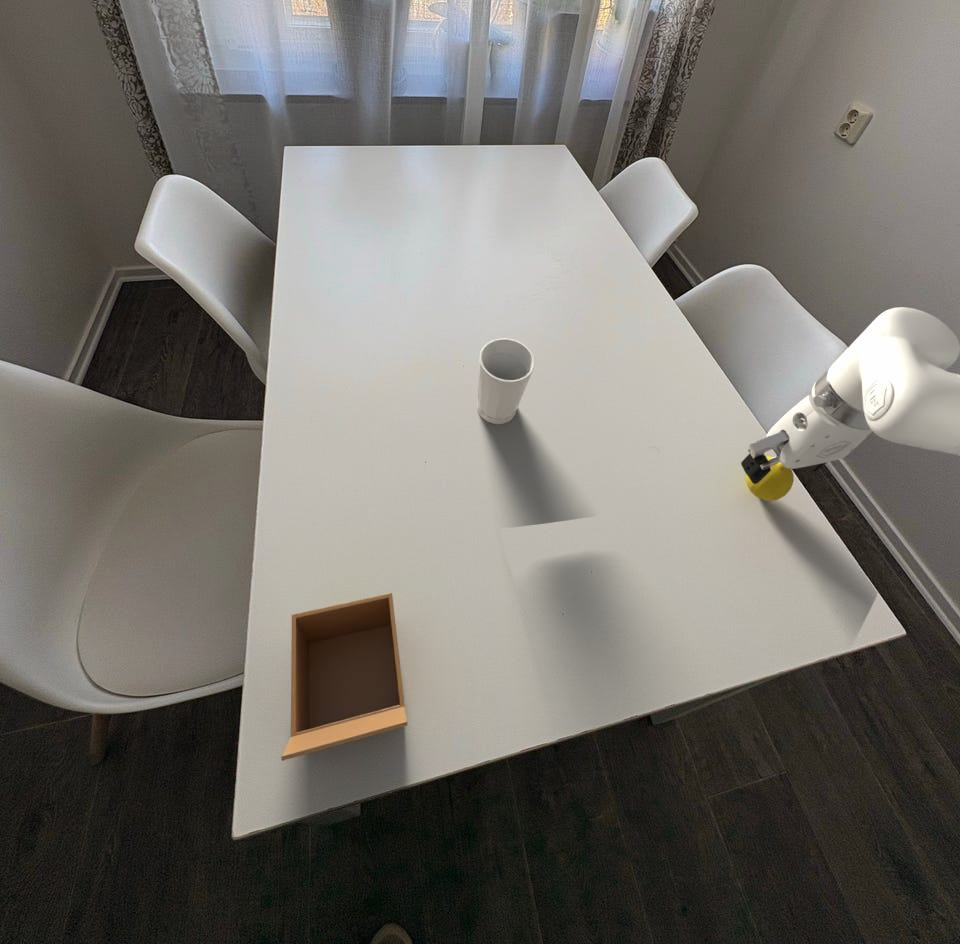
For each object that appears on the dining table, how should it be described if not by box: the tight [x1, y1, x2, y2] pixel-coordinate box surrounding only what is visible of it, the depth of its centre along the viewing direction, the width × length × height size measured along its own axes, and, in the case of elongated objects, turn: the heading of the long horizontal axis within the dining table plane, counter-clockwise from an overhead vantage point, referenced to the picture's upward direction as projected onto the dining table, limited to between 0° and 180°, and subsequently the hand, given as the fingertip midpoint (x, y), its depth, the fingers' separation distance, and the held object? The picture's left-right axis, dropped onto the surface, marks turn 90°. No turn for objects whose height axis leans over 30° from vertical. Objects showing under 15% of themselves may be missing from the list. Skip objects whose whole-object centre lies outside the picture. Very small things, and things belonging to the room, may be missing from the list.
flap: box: [280, 706, 408, 761], centre depth 44 cm, size 5×10×1 cm
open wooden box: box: [290, 592, 406, 737], centre depth 53 cm, size 10×10×10 cm
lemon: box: [745, 455, 795, 502], centre depth 75 cm, size 6×6×8 cm
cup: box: [476, 337, 536, 425], centre depth 80 cm, size 8×8×12 cm
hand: (778, 467), depth 74 cm, fingers open, 9 cm apart
